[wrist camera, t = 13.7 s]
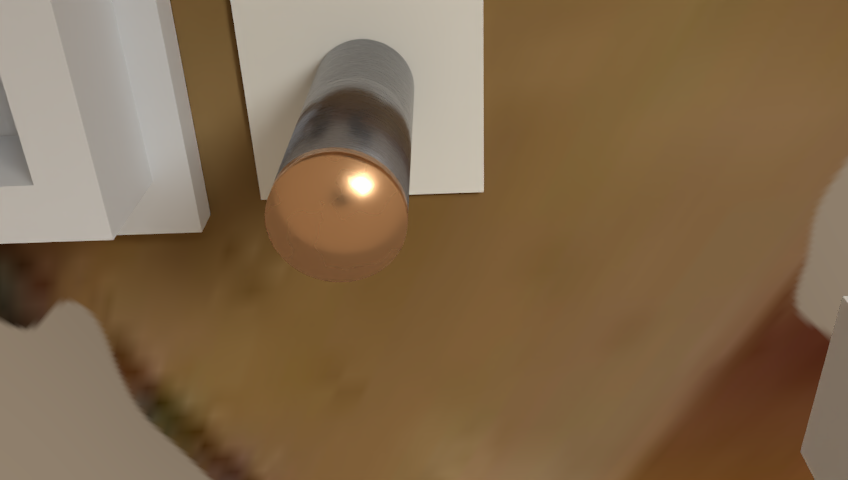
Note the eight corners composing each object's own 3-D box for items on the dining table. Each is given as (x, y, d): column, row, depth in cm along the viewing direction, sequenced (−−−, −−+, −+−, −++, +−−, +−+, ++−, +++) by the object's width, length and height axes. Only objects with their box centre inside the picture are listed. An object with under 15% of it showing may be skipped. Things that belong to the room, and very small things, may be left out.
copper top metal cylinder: (310, 40, 39) (256, 158, 27) (412, 37, 39) (404, 155, 27) (319, 135, 42) (273, 283, 30) (416, 133, 42) (410, 280, 29)
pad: (227, -33, 38) (225, -31, 38) (482, -43, 38) (483, -41, 37) (262, 196, 44) (261, 199, 44) (483, 188, 44) (483, 192, 43)
